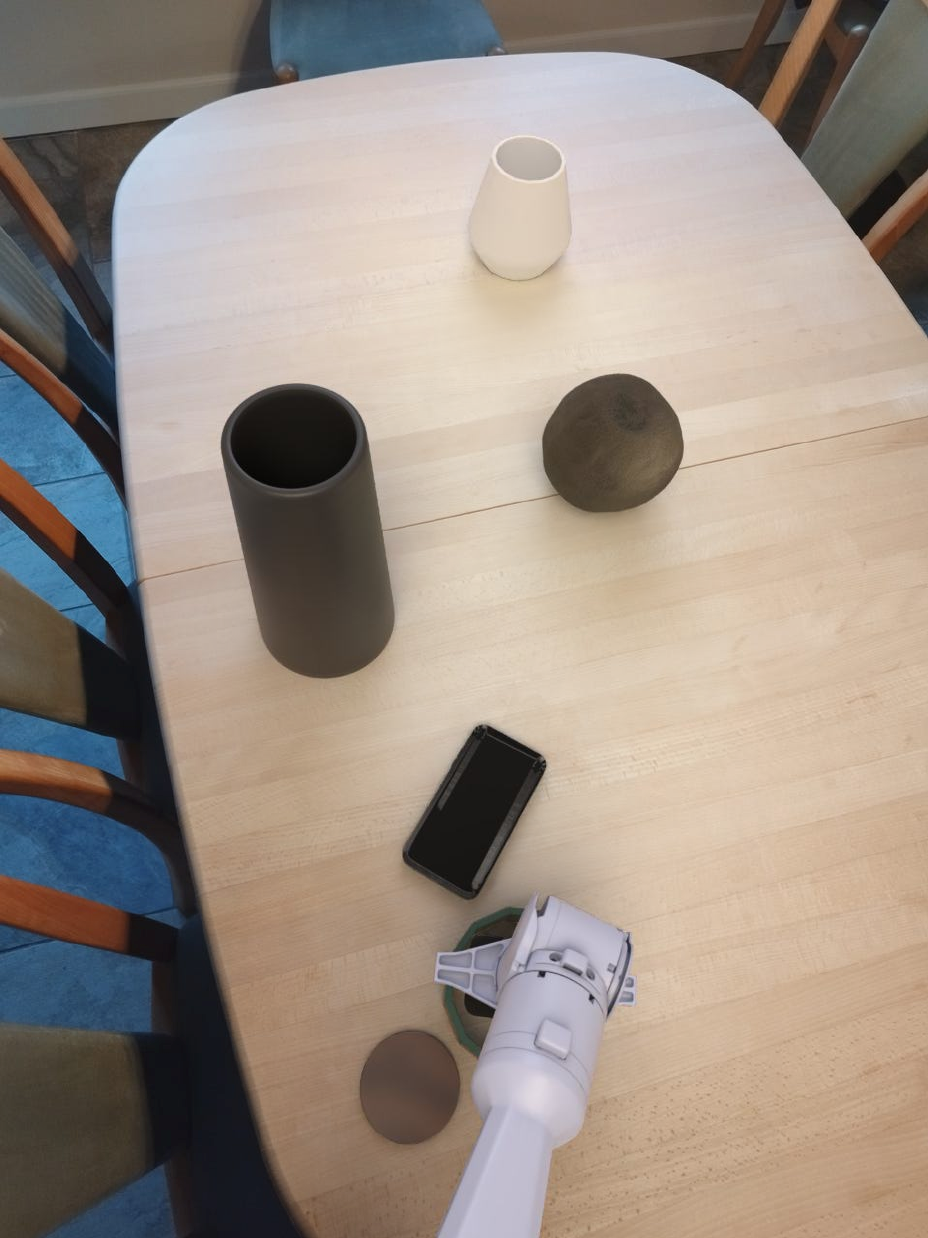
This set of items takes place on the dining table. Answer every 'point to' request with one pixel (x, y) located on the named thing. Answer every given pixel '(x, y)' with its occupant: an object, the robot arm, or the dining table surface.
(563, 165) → the cup
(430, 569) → the dining table surface
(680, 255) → the dining table surface
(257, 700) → the dining table surface
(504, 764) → the phone
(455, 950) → the green polygonal ring
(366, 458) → the vase
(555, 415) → the dark brown round lump
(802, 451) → the dining table surface
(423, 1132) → the coaster
